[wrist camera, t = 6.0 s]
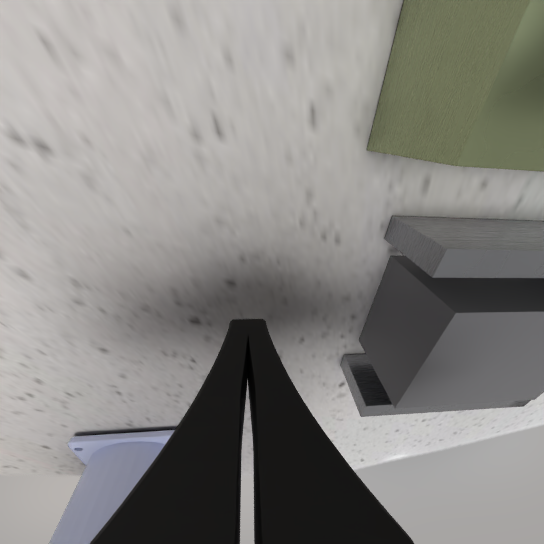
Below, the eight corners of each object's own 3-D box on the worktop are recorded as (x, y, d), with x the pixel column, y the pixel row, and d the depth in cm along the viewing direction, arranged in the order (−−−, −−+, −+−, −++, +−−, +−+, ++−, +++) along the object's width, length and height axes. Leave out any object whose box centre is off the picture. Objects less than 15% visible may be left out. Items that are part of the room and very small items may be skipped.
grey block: (465, 334, 14) (534, 399, 11) (357, 337, 13) (394, 408, 10) (522, 255, 11) (641, 309, 8) (388, 253, 10) (455, 313, 7)
